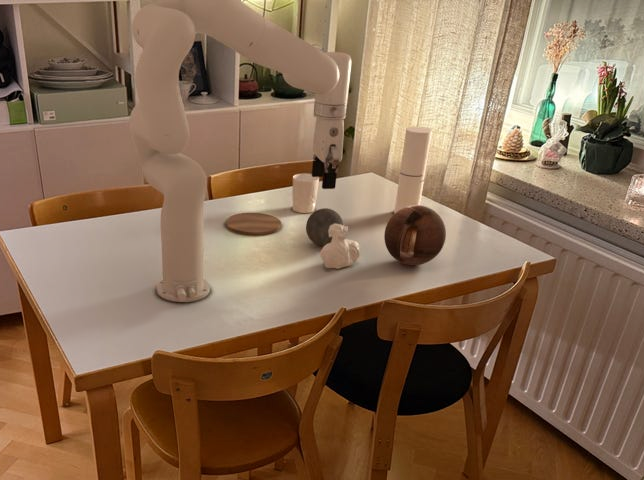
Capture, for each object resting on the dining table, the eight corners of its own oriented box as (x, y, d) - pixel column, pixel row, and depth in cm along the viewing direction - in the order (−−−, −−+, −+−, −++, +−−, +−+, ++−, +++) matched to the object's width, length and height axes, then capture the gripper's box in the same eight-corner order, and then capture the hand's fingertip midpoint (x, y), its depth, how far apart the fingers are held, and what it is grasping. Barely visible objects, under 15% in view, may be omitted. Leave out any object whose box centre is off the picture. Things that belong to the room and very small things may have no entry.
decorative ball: (348, 248, 188) (352, 212, 183) (317, 254, 184) (321, 218, 179) (327, 235, 196) (331, 201, 191) (297, 241, 192) (300, 206, 187)
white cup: (286, 206, 216) (288, 174, 211) (310, 204, 218) (312, 172, 213) (296, 215, 210) (298, 182, 204) (320, 212, 212) (323, 180, 206)
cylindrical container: (389, 211, 213) (401, 128, 200) (408, 208, 216) (421, 125, 202) (403, 219, 207) (416, 133, 194) (423, 216, 210) (437, 131, 197)
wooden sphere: (403, 247, 189) (411, 193, 181) (451, 264, 180) (462, 208, 172) (369, 261, 181) (376, 205, 173) (418, 280, 171) (428, 222, 163)
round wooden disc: (286, 234, 197) (286, 230, 196) (230, 237, 194) (230, 233, 194) (274, 214, 210) (274, 211, 209) (221, 217, 208) (221, 213, 207)
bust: (354, 266, 183) (341, 226, 184) (371, 258, 176) (358, 216, 177) (317, 276, 178) (304, 234, 178) (333, 267, 171) (319, 224, 172)
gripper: (356, 118, 156) (348, 193, 165) (335, 102, 170) (328, 171, 179) (324, 118, 155) (317, 193, 164) (305, 102, 169) (299, 172, 178)
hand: (323, 182), depth 172 cm, fingers open, 9 cm apart
